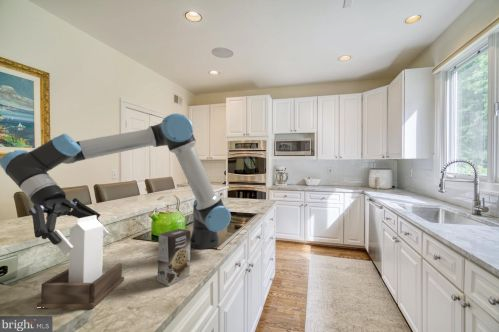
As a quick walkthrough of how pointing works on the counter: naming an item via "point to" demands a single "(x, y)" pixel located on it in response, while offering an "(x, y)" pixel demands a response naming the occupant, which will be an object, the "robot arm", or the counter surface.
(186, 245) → the cookie box
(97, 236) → the milk
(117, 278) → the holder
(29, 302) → the counter surface
